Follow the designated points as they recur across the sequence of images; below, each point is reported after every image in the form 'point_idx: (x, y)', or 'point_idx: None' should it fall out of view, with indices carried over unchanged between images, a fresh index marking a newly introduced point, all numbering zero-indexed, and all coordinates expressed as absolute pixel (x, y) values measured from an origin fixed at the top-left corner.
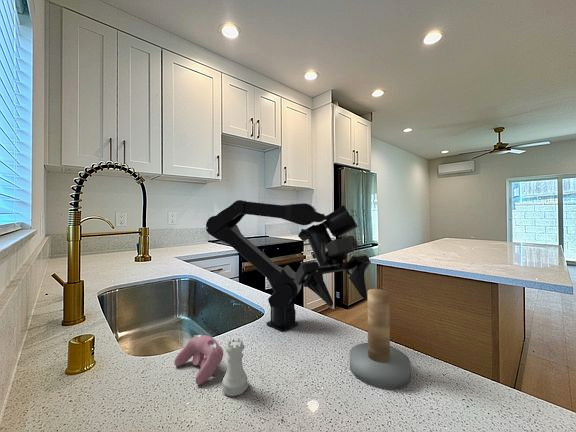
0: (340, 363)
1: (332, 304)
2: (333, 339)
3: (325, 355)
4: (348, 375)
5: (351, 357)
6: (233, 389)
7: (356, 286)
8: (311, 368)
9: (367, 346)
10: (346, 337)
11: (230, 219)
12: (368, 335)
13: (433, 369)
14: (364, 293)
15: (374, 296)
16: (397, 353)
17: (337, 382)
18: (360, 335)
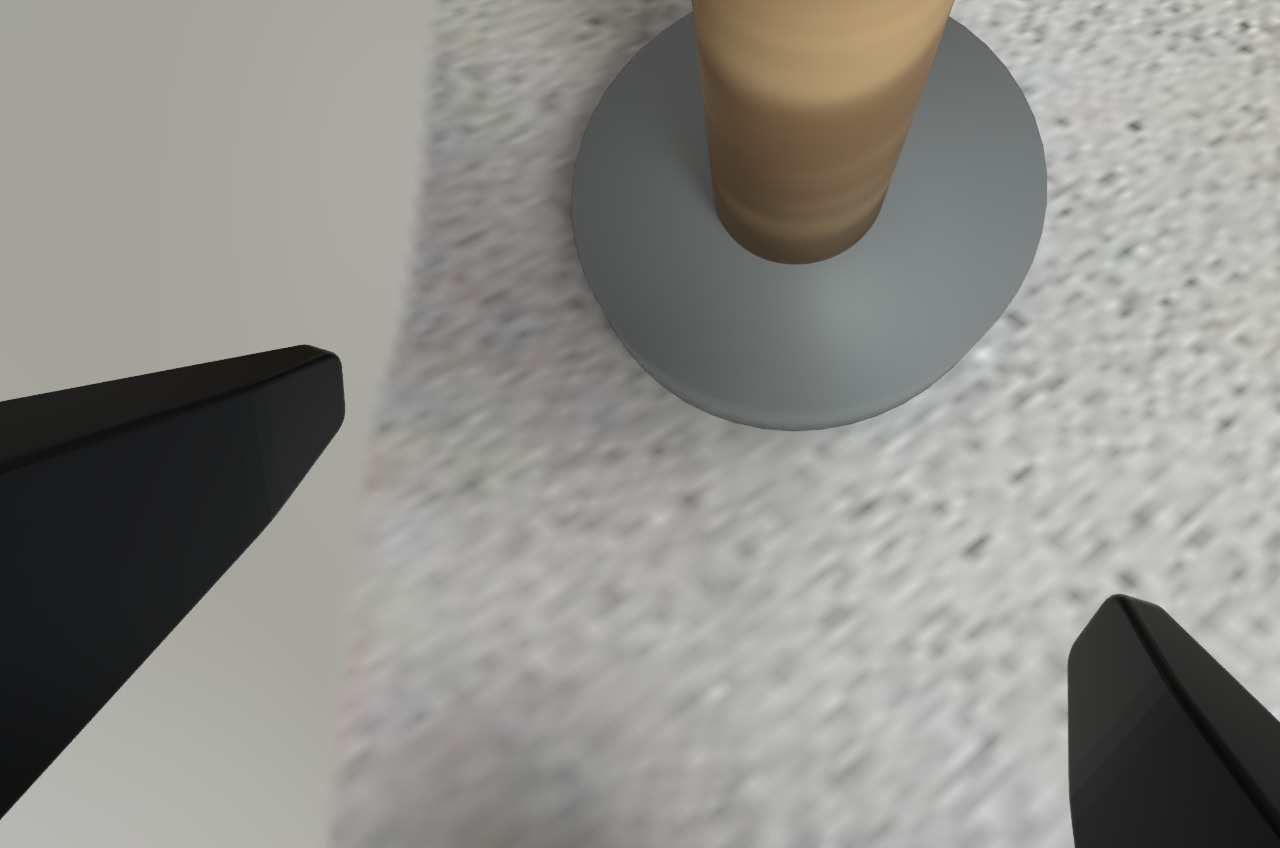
0: (956, 459)
1: (1130, 601)
2: (679, 761)
3: (968, 624)
4: (1032, 326)
5: (995, 313)
6: None
7: (100, 654)
8: (1223, 574)
9: (721, 332)
10: (552, 692)
11: None
12: (900, 130)
13: (516, 35)
14: (291, 376)
15: None
16: (640, 126)
17: (1170, 325)
18: (426, 620)
